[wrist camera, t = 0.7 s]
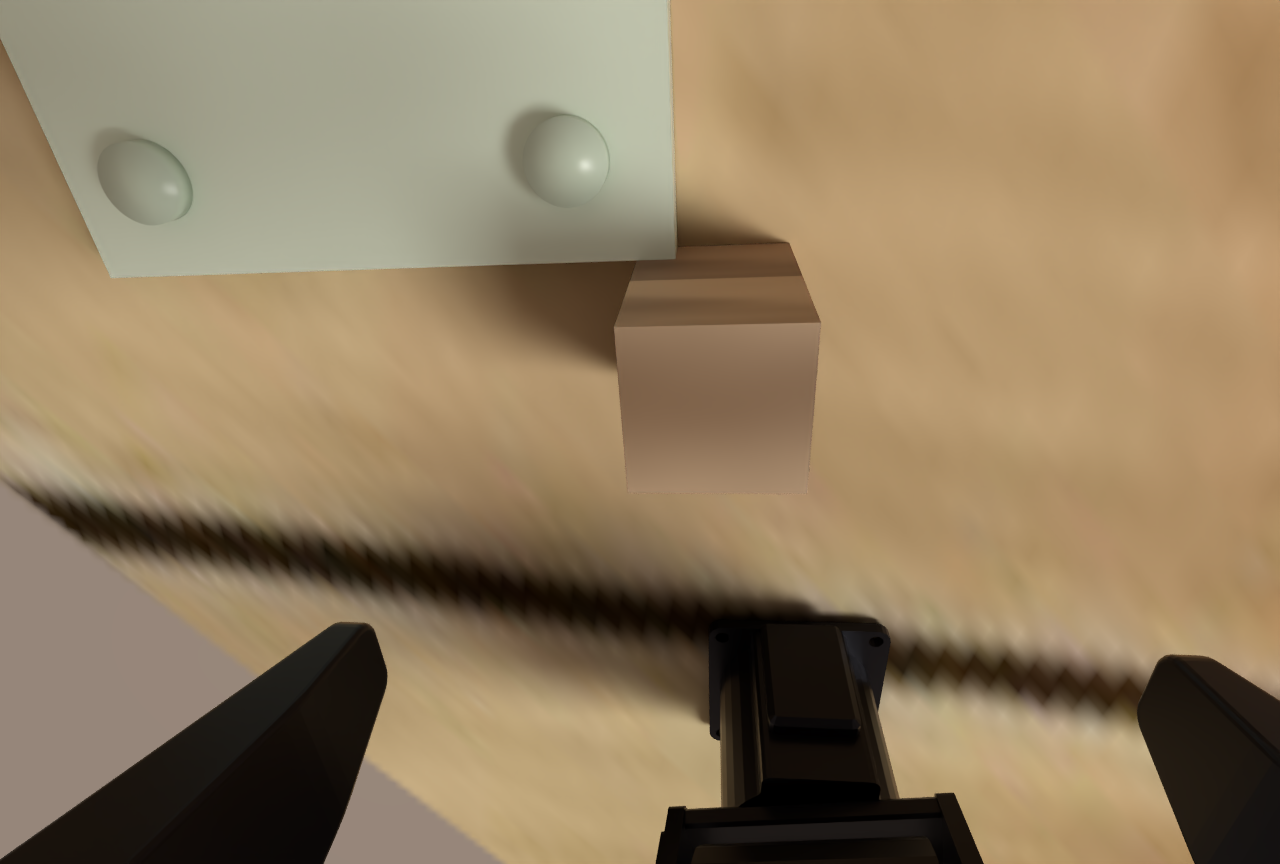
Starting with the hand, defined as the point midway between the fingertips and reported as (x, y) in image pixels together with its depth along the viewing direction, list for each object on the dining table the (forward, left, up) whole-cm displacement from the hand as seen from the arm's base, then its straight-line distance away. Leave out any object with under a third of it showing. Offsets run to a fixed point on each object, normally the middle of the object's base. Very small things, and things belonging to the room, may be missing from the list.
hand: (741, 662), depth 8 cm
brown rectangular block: (0, 0, -13) cm, 13 cm away
